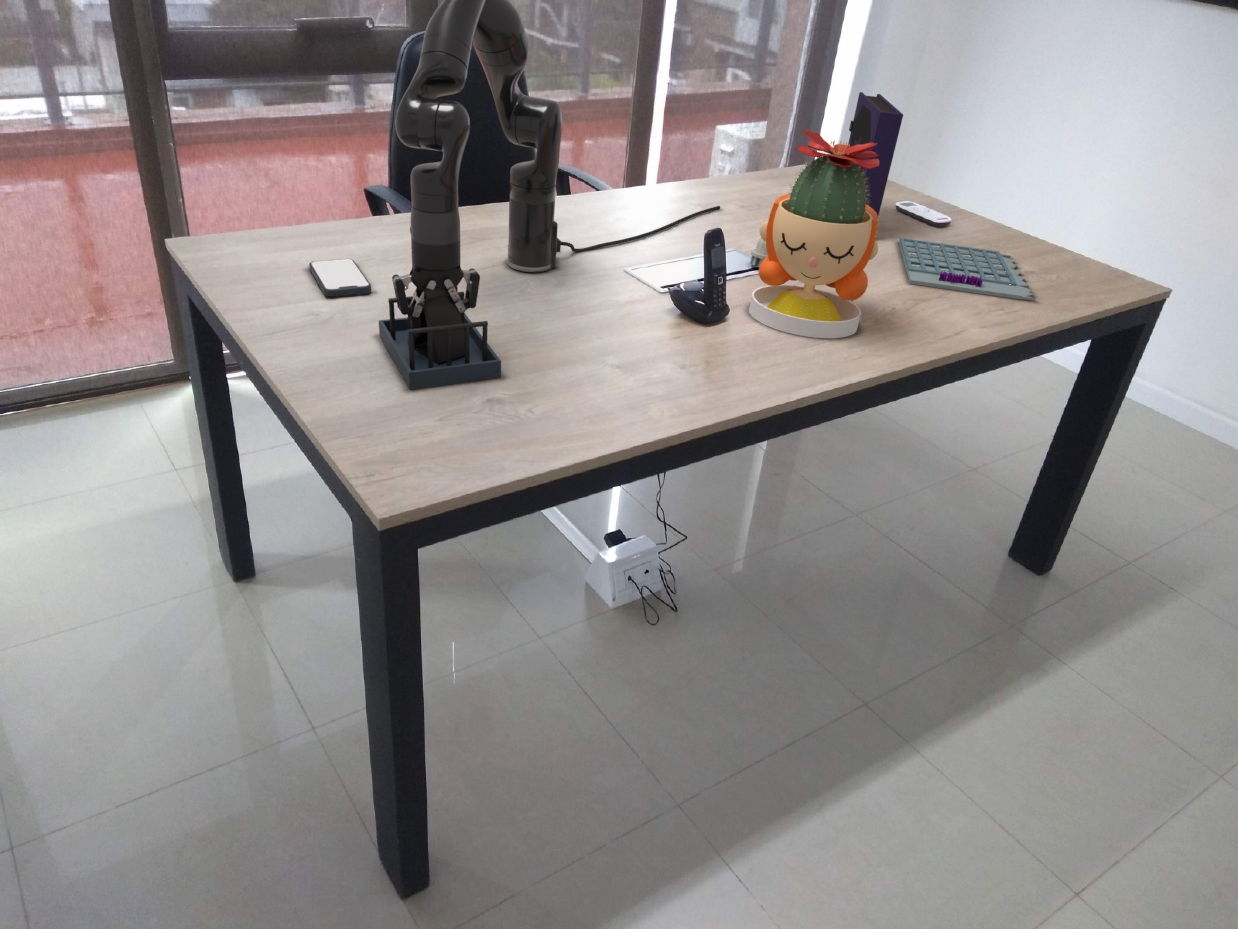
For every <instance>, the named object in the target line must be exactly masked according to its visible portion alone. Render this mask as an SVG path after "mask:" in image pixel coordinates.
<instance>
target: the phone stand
mask: <svg viewBox="0 0 1238 929" xmlns="http://www.w3.org/2000/svg"><path fill="white" fill-rule="evenodd" d="M422 289H423V291H424V292H425V296H426V300H425V303H424V305H423V306H422V308H423V309H422V311H421V314H420V317H421V328H425V327H435V326H444V325H453V324H462V319H461V314H460V312H459V311H458V309H457V307H456V305H455V304H454V302H453V300H452V298H451V296H450V295H448V291H447V290H445V289H443V288H440V287H435V288H434V290H433V291H430V290H427V289H425V287H423V288H422ZM455 289H456V291H457V292H459V291H458V290H459V289H458V286H457V287H456V288H455ZM415 290H416V296H418V297H420V296H421V294H422V293H421V292H420V291H419V290H418V288H417V287H416V288H415ZM408 346H409V339H408ZM414 350H416V351H417V352H419V353H421V354H422V355H424V356H425V357H427V358H428V339H427V333H422V337H420V338H417V337H416V335H414ZM451 354H452V360H455V359H458V358H462V357H465V346H464V329H455V330H451ZM433 362H435V363H436V364H438V365H439V364H442V363H446V362H447V358H446V331H437V332H433Z"/></svg>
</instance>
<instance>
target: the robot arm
mask: <svg viewBox="0 0 1238 929" xmlns="http://www.w3.org/2000/svg"><path fill="white" fill-rule="evenodd" d="M473 47H474V51H475V53H476V55H477V57H478V59H479V62H480V64H481V66H482V68H483V71H484V74H485V77H486V79H487V82H488V85H489V88H490V91H491V93H492V97H493V100H494V104H495V107H496V112H497V116H498V120H499V123H500V125H501V129H502V132H503V135H504V136H505V138H506V139H507V141H508V142H509V143H511V144H513V145H515V146H520V147H524V148H530V149H535V150H536V151H535V155H534V156H535V157H534V159H531V160H528V161H527V160H526V161H521V162H518V163H515V164H513V165H512V166H511V167H510V170H509V193H508V194H509V200H508V202H509V204H508V242H507V243H508V244H507V266H508V267H510V268H511V269H513V270H515V271H519V272H524V273H541V272H547V271H549V270H550V269H556V264H557V253H561V250H562V249H561V248H562V247H561V246H565V247H569V248H570V250H571V251H572V252H573V253H584V252H588V251H593V250H597V249H600V248H605V247H611V246H616V245H619V244H620V245H621V244H625V243H629V242H632V241H636V240H640V239H643V238H646V237H649V236H652V235H655V234H657V233H660V232H663V231H665V230H667V229H670V228H672V227H674V226H676V225H678V224H680V223H683V222H685V221H687V220H690V219H692V218H695V217H697V216H701V215H703V214H707V213H709V212H713V211H717V210H720V209H721V206H720V205H717V206H712V207H710V208H706V209H705V208H704V209H703V210H700V211H696V212H693V213H691V214H689V215H687V216H684V217H682V218H679V219H677V220H675V221H673V222H671V223H668V224H667V225H663V226H661V227H658V228H656V229H653V230H651V231H648V232H644V233H641V234H639V235H634V236H631V237H627V238H622V239H618V240H613V241H608V242H603V243H597V244H595V245H591V246H588V247H582V248H575V246H574V244H572V243H571V242H567V241H562V240H561V239H560V238H559V237H558V228H559V227H558V226H559V224H558V222H557V221H556V220H555V214H556V211H555V209H556V191H557V190H556V188H557V187H556V186H557V176H558V171H559V164H560V153H561V143H562V133H563V111H562V108H561V106H560V104H559V103H558V102H557V101H555V100H553V99H547V98H541V97H536V96H530V95H525V94H524V93H523V92H522V91H521V89H520V87H519V84H518V81H519V79H520V77H521V75H522V74H523V72H524V70H525V68H526V65H527V64H528V60H529V58H530V57H529V56H530V42H529V39H528V35H527V32H526V29H525V26H524V23H523V20H522V17H521V15H520V13H519V10H517V8H516V6H515V5H514V4H513V3H512V2H511V1H510V0H443V1H442V2H441V3H440V4H439V6H437V8H436V9H435V11H433V14H432V16H431V17H430V18H429V21H428V23H427V25H426V28H425V31H424V36H423V40H422V46H421V50H420V56H419V61H418V66H417V68H416V71H415V73H414V74H413V77H412V79H411V81H410V83H409V85H408V87H407V89H406V91H405V92H404V94H403V96H402V98H401V100H400V102H399V104H398V106H397V109H396V113H395V120H394V124H395V125H394V126H395V127H394V128H395V132H396V135H397V137H398V139H399V141H400V142H401V143H402V144H403V145H404V146H406V147H408V148H412V149H420V150H429V151H436V152H442V159H441V160H440V161H436V162H427V163H425V162H424V163H420V164H417V165H416V166H414V167H413V168H412V169H411V172H410V198H411V209H410V210H411V211H410V226H409V233H410V244H411V246H410V247H411V248H410V249H411V270H410V272H409V274H405V275H399V274H393V276H392V277H391V280H392V285H393V290H394V294H395V298H396V301H397V303H396V305H397V308H398V310H399V311H400V313H401V314H402V315H403V316H408V315H410V329H416V328H421V317H420V314H421V311H422V309H423V308H422V306H423V305H424V303H425V300H426V296H425V292H424V291H423V289H422V288H423V287H425V289H427V290H430V291H433V290H434V288H435V287H440V288H443V289H445V290H447V291H448V295H450V296H451V298H452V300H453V302H454V304H455V305H456V307H457V309H458V311H459V312H460V314H461V319H462V324H463V323H465V316H464V313H465V312H466V311H467V310H469V309H475V308H476V307H477V304H478V303H477V301H478V295H479V289H480V281H481V275H480V274H479V272H478V271H477V270H476V269H475V268H473V267H472V268H469V270H468V269H462V266H461V219H460V212H459V179H460V171H461V165H462V162H463V157H464V154H465V153H464V152H465V149H466V146H467V143H468V139H469V135H470V130H471V117H470V115H469V113H468V111H467V108H466V107H465V106H464V105H463V104H462V103H460V102H458V101H454V100H447V99H439V98H440V97H445V96H451V95H452V96H453V95H456V94H458V93H460V92H461V91H463V89H464V88H465V85H466V83H467V79H468V72H469V68H470V67H469V66H470V60H471V56H472V49H473ZM462 280H464V282H465V283H466V285H465V286H466V287H465V292H464V293H465V296H464V299H463V300H461V298H460V296H459V295H458V293H457V291H456V289H455V288H456V287H457V288H458V286H459V284H460V283H461V281H462ZM411 283H412V284H413V285H414V286H415V287H416V288H418V290H419V291H420V292H421V293H422V294H421V296H420V297H418V296H416V289H415V290H414V292H413V295H412V296H413V299H412V302H411V304H410V305H408V304H407V299H406V297H407V294H406V291H407V290H408V289H409V285H410V284H411ZM465 314H466V313H465ZM414 335H416V337H417V338H420V337H422V333H418V334H414Z"/></svg>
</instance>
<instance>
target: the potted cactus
mask: <svg viewBox="0 0 1238 929" xmlns="http://www.w3.org/2000/svg"><path fill="white" fill-rule="evenodd" d="M802 133H804V135H805V137H806V138H808V139H809V140H810V141H809V142H808V143H806V144H807V147H806V146H804V145H803V146H802V145H800V146H798V147H797V149H796V150H797V151H798V152H800V153H802V154H803V155H806V156H807V157H811V158H810V159H809V160H804V162H805V163H803V164H804V165H803V167H801V171H800V170H797V172H796V173H795V175H796V176H795V178H794V179H793V180H792V181H791V182H792V183H794V186H793V185H792V184H789V187H790V188H789V191H791V192H788V193H785V194H783V195H781V196H779V197H778V198H776V199H775V200H774V202H773V205H772V207H771V211H770V212H769V215H768V216H769V217H768V220H767V221H764V222H763V223H762V224H761V225H760V228H759V235H760V238H762V239H763V240H764V241H766V248H767V253H768V257H766V258H765V259H764V260H763V261H762V263H761V264H760V267H758V275H759V278H760V280H761V282H762V283H764V284H765V286H761V287H760V286H759V287H758V288H755V289H754V290H753V291H752V292H751V297H750V302H749V308H748V312H749V315H750V316H751V317H752V318H753V319H754V320H755V321H757V322H759V323H760V324H762V325H765V326H766V327H769V328H772V329H775V330H777V331H780V332H783V333H786V334H790V335H794V336H795V335H796V336H801V337H806V338H817V339H841V338H847V337H850V336H852V335H854V334H855V333H857V331H858V327H859V323H860V321H861V320H860V319H861V315H862V310H861V309H860V307H859V306H858V305H857V304H855V303H854V302H852V301H856V300H858V299H859V298H861V297H862V296H864V294H865V292H866V291H867V288H868V286H869V279H868V276H867V273H866V272H865V270H864V269H865V268H866V267H867V265H868V263H869V261H870V260H873V259H874V258H875V257H876V256H877V255H878V252H879V244H878V242H877V241H876V238H877V234H878V227H879V226H878V225H879V216H878V215H877V213H876V212H875V211H874V210H873V209H872V208H871V207H870V206H868V205H866V203H867V201H869V200H867V198H868V197H867V198H866V196H868V195H870V194H869V193H868V194H866V192H867V191H866V188H867V187H868V186H867V185H865V182H866V181H865V180H866V179H868V178H866V179H864V178H863V175H862V174H864V172H863V171H862V173H861V171H860V170H859V169H861V168H860V167H859V166H861V167H863V168H868V169H871V168H875V167H879V159H870V160H862V159H866V158H872V157H877V156H878V155H876V152H871V151H868V150H870V149H872V148H873V147H875V146H876V145H877V143H867V144H863V145H855V146H851V147H850V144H849V145H848V141H846V142H845V141H843V143H842V140H840V141H839V143H836V144H835V142H836V140H831V141H830V143H829V142H827V141H826V139H824V138H823V137H822V136H821V134H820V133H819V132H815V131H811V130H808V129H804V130H803V131H802ZM809 161H810V162H809ZM855 164H858V165H859V166H858V167H857V166H856V165H855ZM869 180H870V179H869ZM867 183H868V181H867ZM866 186H867V187H866ZM867 189H868V188H867ZM868 191H870V190H868ZM869 197H871V195H870V196H869ZM866 200H867V201H866ZM868 204H869V203H868ZM789 281H792V282H793V281H794V282H795V281H798V282H800V283H802V284H804V285H803V286H797V285H787V284H786V283H787V282H789ZM785 284H786V285H785ZM824 285H825V286H827V287H828V288H832V289H834V290H835V292H836V294H837V295H836V294H834V293H831V292H829V291H824V290H820V289H816V286H824Z"/></svg>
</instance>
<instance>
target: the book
mask: <svg viewBox="0 0 1238 929" xmlns="http://www.w3.org/2000/svg"><path fill="white" fill-rule="evenodd" d="M903 118H904V114H903V112H901V111H900V110H899V109H898V108H897V107H896V106H894V104H892V103H891V102H890V101H888V99H887V98H885V97H884V96H883V95H882V94H881V93H877V94H876V96H875V95H873V96H872V95H866V94H865V93H864V92H863V91H859V93H858V97H857V102H856V107H855V111H854V115H853V120H850V122H849V128H848V131H849V132H850V135H849V138H848V142H847V145H849V144H850V147H851V146H855V145H863V144H867V143H877V145H876V146H875V147H873V148H872V149H870V150H868V151H871V152H876V155H878V156H877V157H872V158H866V159H862V160H870V159H879V167H875V168H871V169H868V168H863V167H861V166H859V165H858V164H855V165H856V166H857V167H858V166H859V167H860V168H861V169H859V170H860V171H861V173H862V171H863V172H864V174H862V175H863V178H864V179H866V178H868V179H866V180H865V181H866V182H865V185H867V186H868V187H867V186H866V187H867V188H868V189H867V188H866V191H867V192H866V194H868V193H869V194H870V195H871V197H869V196H870V195H868V196H866V198H867V197H868V198H867V200H869V201H867V200H866V201H867V203H866V205H868V206H870V207H871V208H872V209H873V210H874V211H875V212H876V213H877V215H878V217H879V215H880V211H881V207H882V203H883V198H884V194H885V191H886V188H887V184H888V179H889V175H890V171H891V167H892V163H893V159H894V155H895V151H896V146H897V142H898V139H899V135H900V130H901V127H902V122H903ZM869 179H870V180H869ZM867 181H868V183H867ZM868 190H870V191H868ZM868 203H869V204H868Z"/></svg>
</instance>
